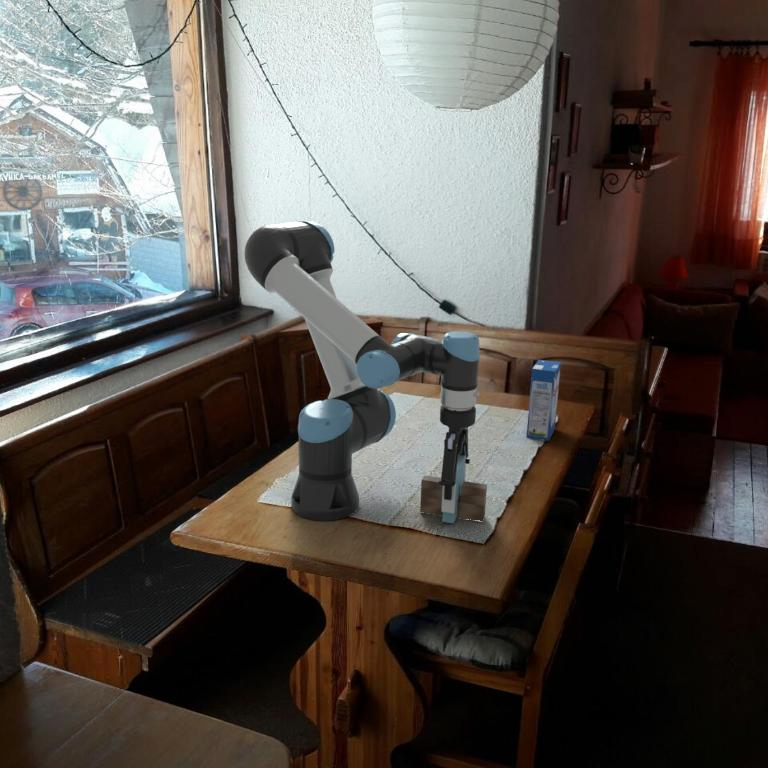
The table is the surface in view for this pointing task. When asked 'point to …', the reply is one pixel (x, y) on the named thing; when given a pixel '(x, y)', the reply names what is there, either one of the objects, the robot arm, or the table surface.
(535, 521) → the table surface
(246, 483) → the table surface
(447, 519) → the teal slotted plate
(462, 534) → the table surface
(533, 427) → the milk carton
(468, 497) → the walnut slotted plate
